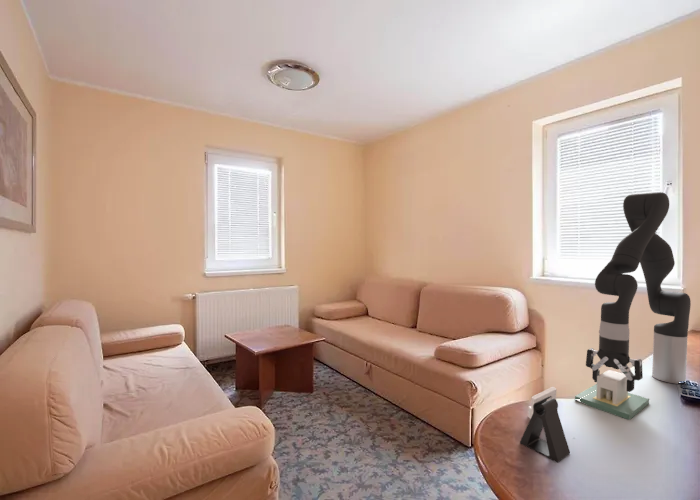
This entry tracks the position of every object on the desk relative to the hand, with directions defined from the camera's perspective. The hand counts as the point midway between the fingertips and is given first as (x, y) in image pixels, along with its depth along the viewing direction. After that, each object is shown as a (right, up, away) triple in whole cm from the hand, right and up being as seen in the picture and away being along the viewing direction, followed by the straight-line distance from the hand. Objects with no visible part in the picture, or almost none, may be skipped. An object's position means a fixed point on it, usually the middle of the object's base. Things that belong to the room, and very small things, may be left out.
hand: (612, 386), depth 108 cm
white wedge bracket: (-29, -5, -12) cm, 32 cm away
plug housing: (0, -4, 0) cm, 4 cm away
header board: (0, -5, 0) cm, 5 cm away
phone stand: (-36, -5, -25) cm, 44 cm away
